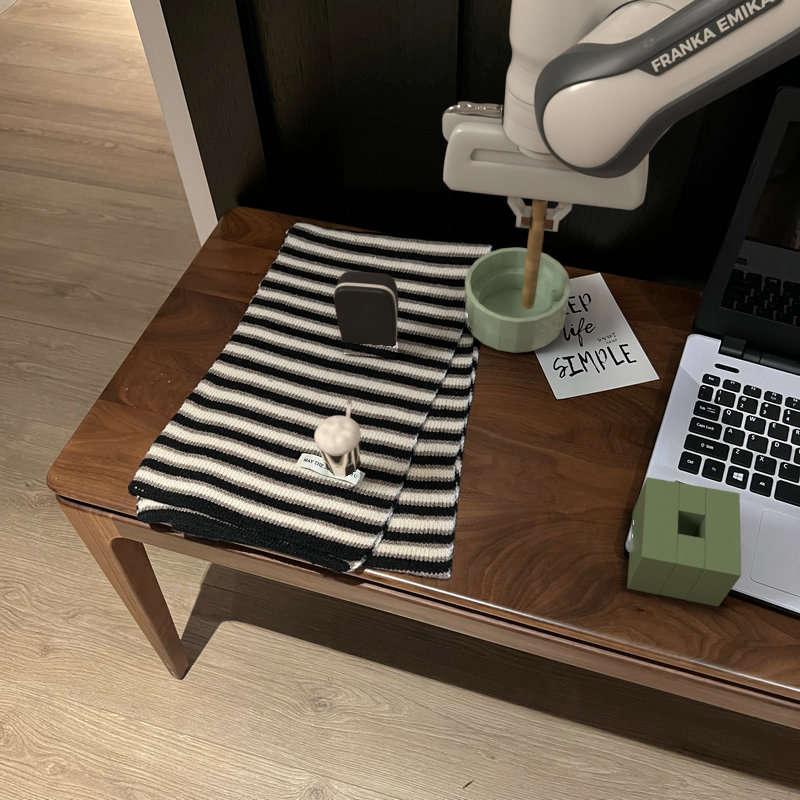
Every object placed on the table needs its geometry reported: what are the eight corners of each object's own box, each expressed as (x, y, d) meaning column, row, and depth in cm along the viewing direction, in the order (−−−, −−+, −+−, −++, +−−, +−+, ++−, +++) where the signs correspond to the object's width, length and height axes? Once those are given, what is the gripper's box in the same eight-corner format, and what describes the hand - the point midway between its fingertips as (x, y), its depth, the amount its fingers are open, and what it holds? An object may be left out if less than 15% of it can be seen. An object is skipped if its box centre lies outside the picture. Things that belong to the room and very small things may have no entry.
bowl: (569, 290, 98) (575, 254, 94) (557, 362, 91) (564, 328, 87) (474, 277, 100) (475, 241, 96) (455, 347, 93) (456, 313, 89)
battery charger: (403, 337, 95) (399, 268, 86) (398, 361, 93) (393, 293, 83) (347, 332, 96) (337, 263, 87) (341, 356, 93) (330, 288, 84)
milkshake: (377, 461, 84) (370, 407, 76) (355, 501, 81) (345, 449, 73) (340, 448, 85) (329, 392, 78) (317, 486, 83) (303, 433, 75)
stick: (535, 300, 93) (549, 192, 81) (533, 310, 92) (547, 202, 80) (521, 298, 94) (534, 191, 81) (520, 308, 93) (532, 200, 80)
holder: (718, 528, 78) (739, 493, 72) (718, 606, 73) (741, 575, 67) (632, 512, 79) (646, 476, 74) (626, 588, 74) (641, 556, 69)
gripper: (435, 119, 72) (436, 233, 83) (661, 141, 69) (631, 257, 80) (448, 82, 76) (448, 196, 87) (664, 101, 72) (635, 217, 83)
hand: (537, 225), depth 83 cm, fingers closed on stick, 1 cm apart
